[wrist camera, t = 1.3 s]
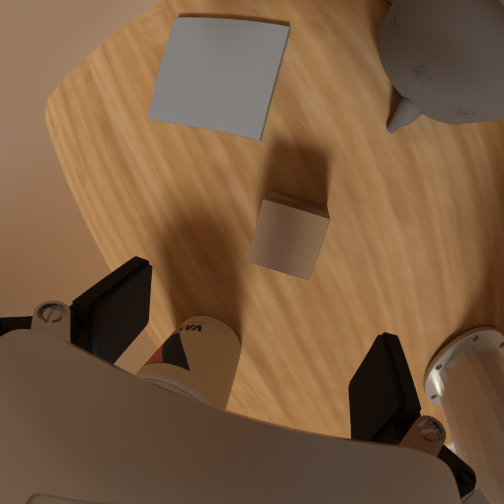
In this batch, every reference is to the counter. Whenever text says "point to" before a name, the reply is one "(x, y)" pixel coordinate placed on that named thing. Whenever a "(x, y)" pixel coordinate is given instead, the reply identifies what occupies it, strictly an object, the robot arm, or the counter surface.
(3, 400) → the robot arm
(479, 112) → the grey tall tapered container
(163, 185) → the counter surface
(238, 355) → the coffee cup
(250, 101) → the plate
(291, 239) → the walnut cube
